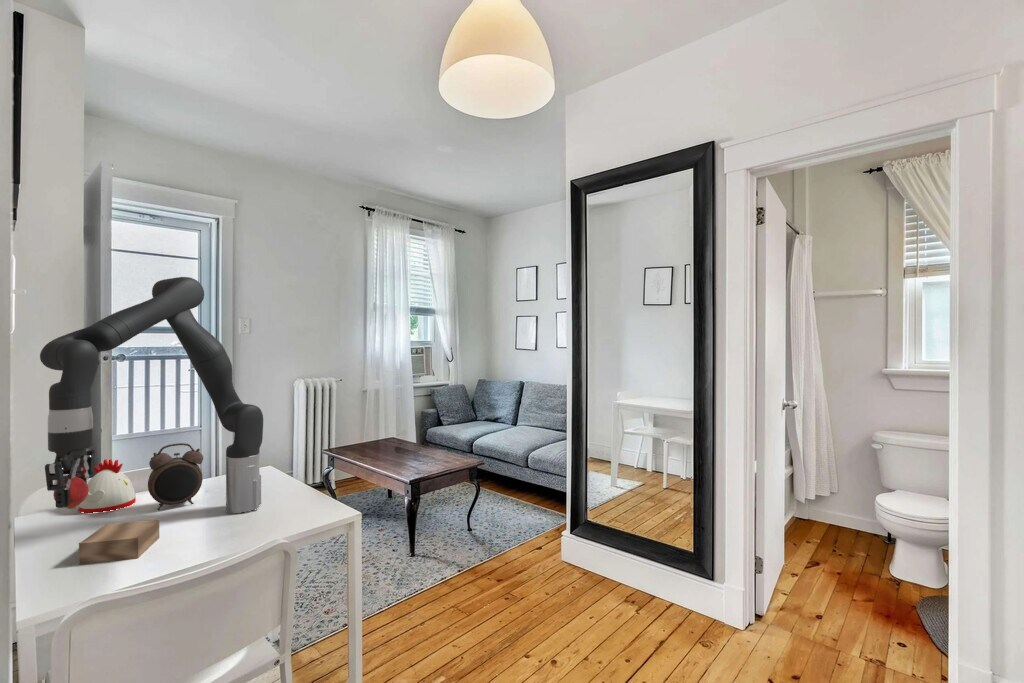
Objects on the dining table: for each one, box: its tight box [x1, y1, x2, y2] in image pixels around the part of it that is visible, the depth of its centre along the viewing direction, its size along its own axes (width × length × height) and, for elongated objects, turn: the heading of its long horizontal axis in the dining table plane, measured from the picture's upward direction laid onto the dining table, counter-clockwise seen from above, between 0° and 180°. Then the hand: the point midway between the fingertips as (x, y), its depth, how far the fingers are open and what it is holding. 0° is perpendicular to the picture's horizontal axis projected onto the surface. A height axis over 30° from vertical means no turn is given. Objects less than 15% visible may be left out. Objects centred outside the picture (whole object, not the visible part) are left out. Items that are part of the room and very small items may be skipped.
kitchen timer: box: [78, 458, 137, 513], centre depth 152 cm, size 14×14×15 cm
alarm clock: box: [147, 442, 204, 511], centre depth 152 cm, size 15×7×20 cm, turn 129°
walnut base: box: [78, 519, 160, 565], centre depth 121 cm, size 12×12×5 cm
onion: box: [53, 474, 89, 510], centre depth 107 cm, size 6×6×8 cm
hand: (71, 501), depth 107 cm, fingers closed on onion, 6 cm apart
